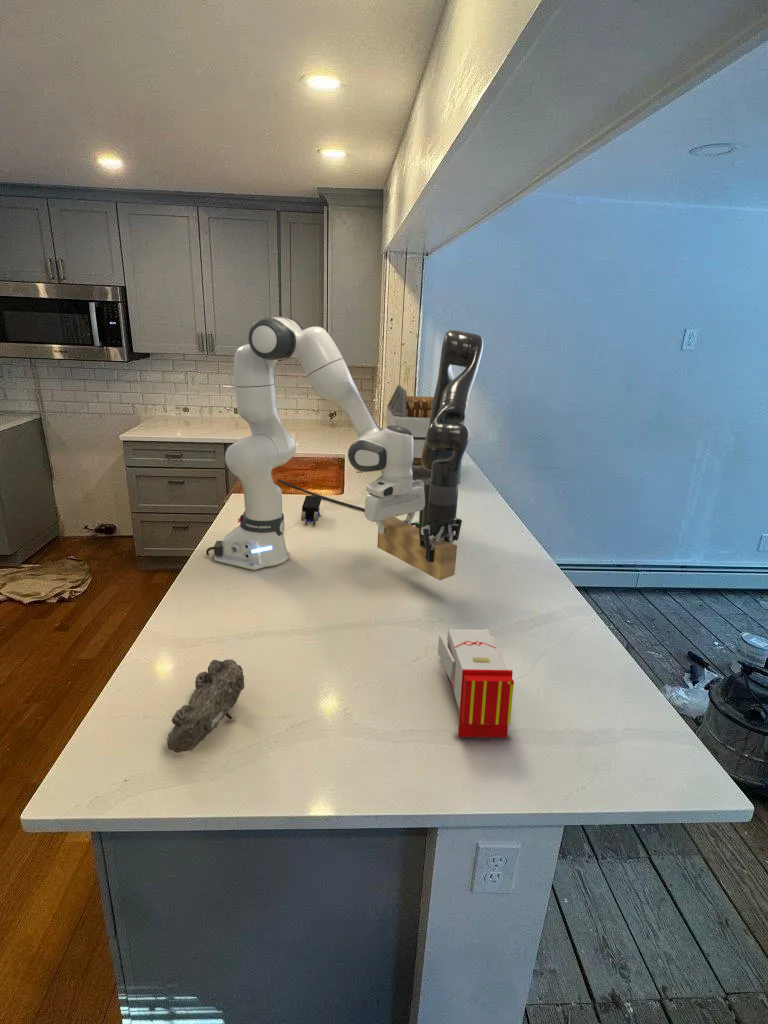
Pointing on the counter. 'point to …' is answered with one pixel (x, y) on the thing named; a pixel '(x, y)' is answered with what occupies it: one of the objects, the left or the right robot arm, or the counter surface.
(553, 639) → the counter surface
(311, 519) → the figurine character
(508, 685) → the toy
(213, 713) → the fossil
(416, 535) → the bar
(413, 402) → the grey wooden crate
